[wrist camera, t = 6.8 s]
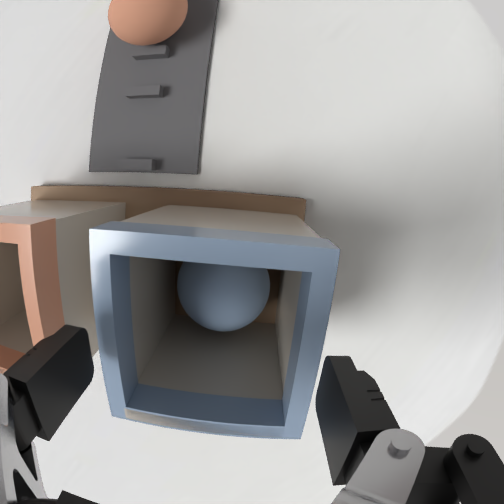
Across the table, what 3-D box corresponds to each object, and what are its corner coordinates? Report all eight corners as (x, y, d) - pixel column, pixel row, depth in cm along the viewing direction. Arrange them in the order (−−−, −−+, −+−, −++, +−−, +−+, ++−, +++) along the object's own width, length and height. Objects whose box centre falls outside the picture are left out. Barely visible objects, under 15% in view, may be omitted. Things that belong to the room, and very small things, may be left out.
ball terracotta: (132, 2, 17) (106, -31, 11) (198, -4, 17) (185, -43, 12) (119, 59, 18) (86, 33, 13) (188, 54, 18) (169, 21, 13)
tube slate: (167, 203, 19) (89, 228, 10) (298, 213, 19) (340, 249, 10) (165, 322, 21) (111, 416, 11) (283, 333, 21) (300, 438, 11)
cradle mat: (118, 3, 17) (113, -4, 16) (219, -6, 17) (217, -14, 16) (90, 171, 20) (82, 171, 19) (197, 174, 20) (193, 174, 19)
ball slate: (189, 228, 20) (166, 246, 15) (272, 235, 20) (277, 255, 15) (186, 304, 21) (167, 342, 16) (264, 312, 21) (266, 352, 16)
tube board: (40, 185, 20) (31, 186, 19) (303, 198, 20) (306, 199, 19) (47, 304, 22) (39, 310, 21) (286, 336, 23) (287, 344, 21)
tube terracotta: (34, 198, 19) (-66, 218, 9) (127, 201, 19) (30, 224, 10) (41, 300, 21) (-39, 357, 11) (129, 316, 21) (60, 400, 11)
